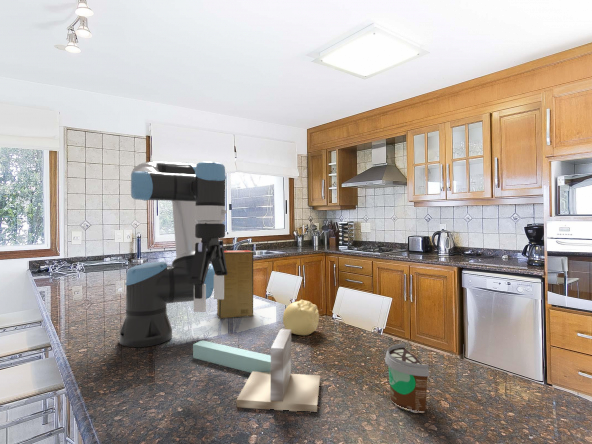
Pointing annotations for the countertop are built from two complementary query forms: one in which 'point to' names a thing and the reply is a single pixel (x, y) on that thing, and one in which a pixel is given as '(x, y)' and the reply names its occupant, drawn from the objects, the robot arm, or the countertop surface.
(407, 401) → the food container
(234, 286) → the food packaging
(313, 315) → the sculpture
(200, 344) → the beam
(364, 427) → the countertop surface
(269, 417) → the countertop surface
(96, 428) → the countertop surface
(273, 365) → the balance stand
